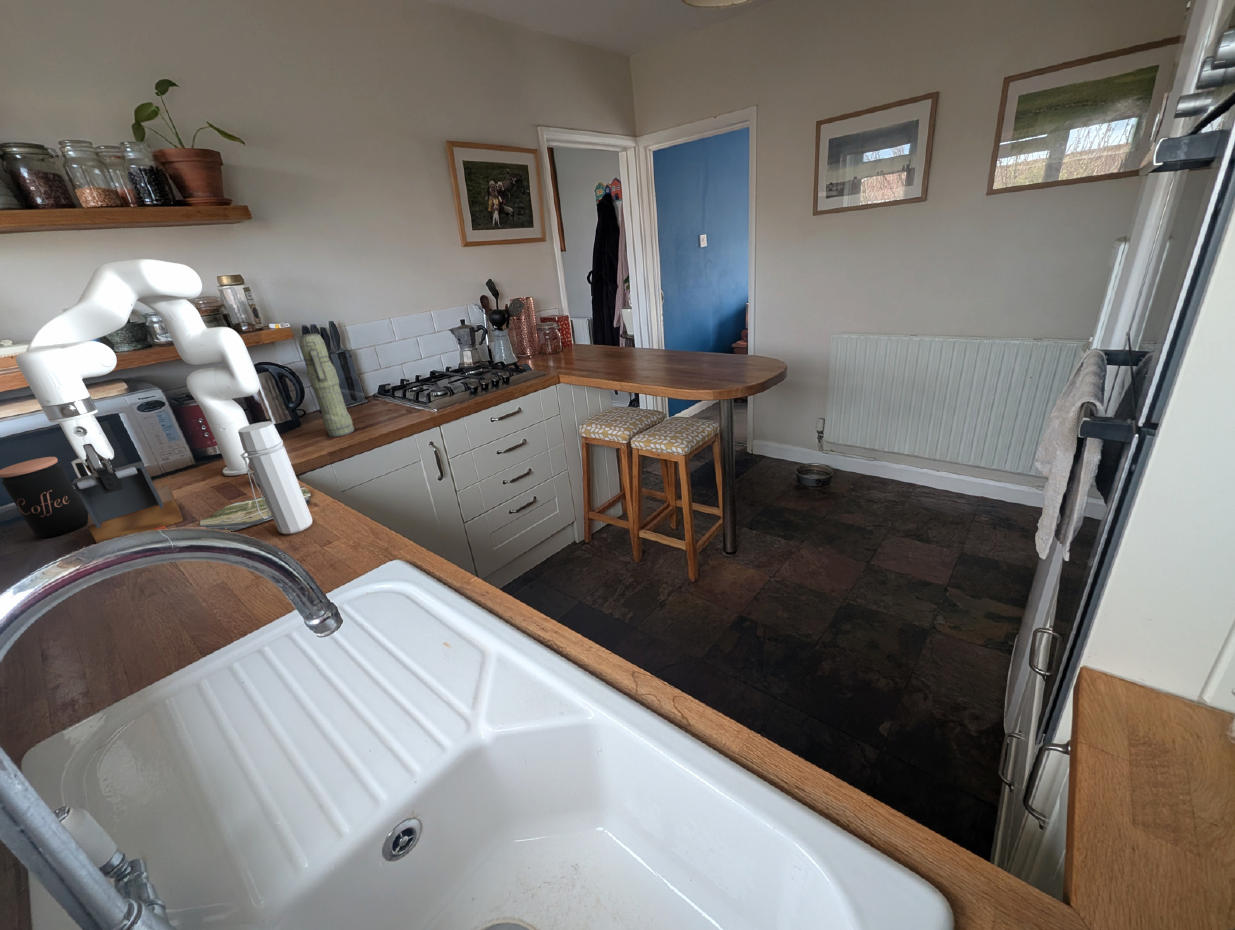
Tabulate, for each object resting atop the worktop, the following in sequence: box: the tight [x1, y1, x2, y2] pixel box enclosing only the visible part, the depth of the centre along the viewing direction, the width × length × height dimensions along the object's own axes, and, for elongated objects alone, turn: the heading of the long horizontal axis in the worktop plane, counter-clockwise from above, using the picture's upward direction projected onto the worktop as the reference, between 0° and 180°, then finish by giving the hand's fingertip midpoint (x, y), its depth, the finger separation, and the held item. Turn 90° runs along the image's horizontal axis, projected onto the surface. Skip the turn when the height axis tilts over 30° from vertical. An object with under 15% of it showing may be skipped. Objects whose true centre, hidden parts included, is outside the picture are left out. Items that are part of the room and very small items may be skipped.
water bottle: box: [238, 421, 313, 535], centre depth 116 cm, size 9×8×25 cm
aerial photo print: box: [198, 485, 312, 532], centre depth 131 cm, size 25×19×2 cm
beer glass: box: [70, 458, 94, 478], centre depth 142 cm, size 7×7×15 cm
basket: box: [71, 460, 164, 528], centre depth 119 cm, size 12×12×11 cm
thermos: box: [298, 332, 355, 438], centre depth 182 cm, size 9×12×35 cm
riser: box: [86, 485, 184, 543], centre depth 131 cm, size 16×14×6 cm
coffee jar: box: [0, 456, 88, 539], centre depth 132 cm, size 11×11×18 cm
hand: (113, 489), depth 115 cm, fingers closed on basket
